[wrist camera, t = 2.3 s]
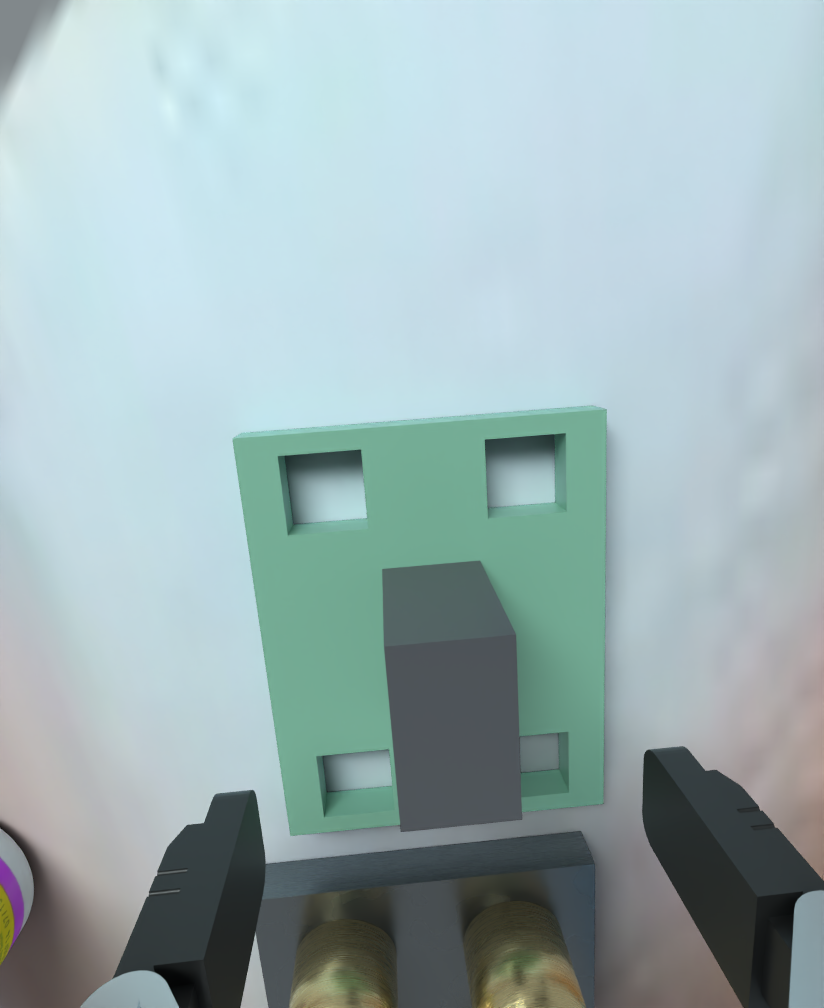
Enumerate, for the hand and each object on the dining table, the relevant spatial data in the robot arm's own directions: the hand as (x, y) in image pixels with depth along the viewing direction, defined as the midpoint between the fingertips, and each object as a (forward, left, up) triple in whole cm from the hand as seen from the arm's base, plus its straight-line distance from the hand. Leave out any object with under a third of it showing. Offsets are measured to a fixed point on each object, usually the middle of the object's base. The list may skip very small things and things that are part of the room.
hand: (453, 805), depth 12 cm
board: (0, 0, -8) cm, 8 cm away
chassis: (+17, -1, -8) cm, 19 cm away
